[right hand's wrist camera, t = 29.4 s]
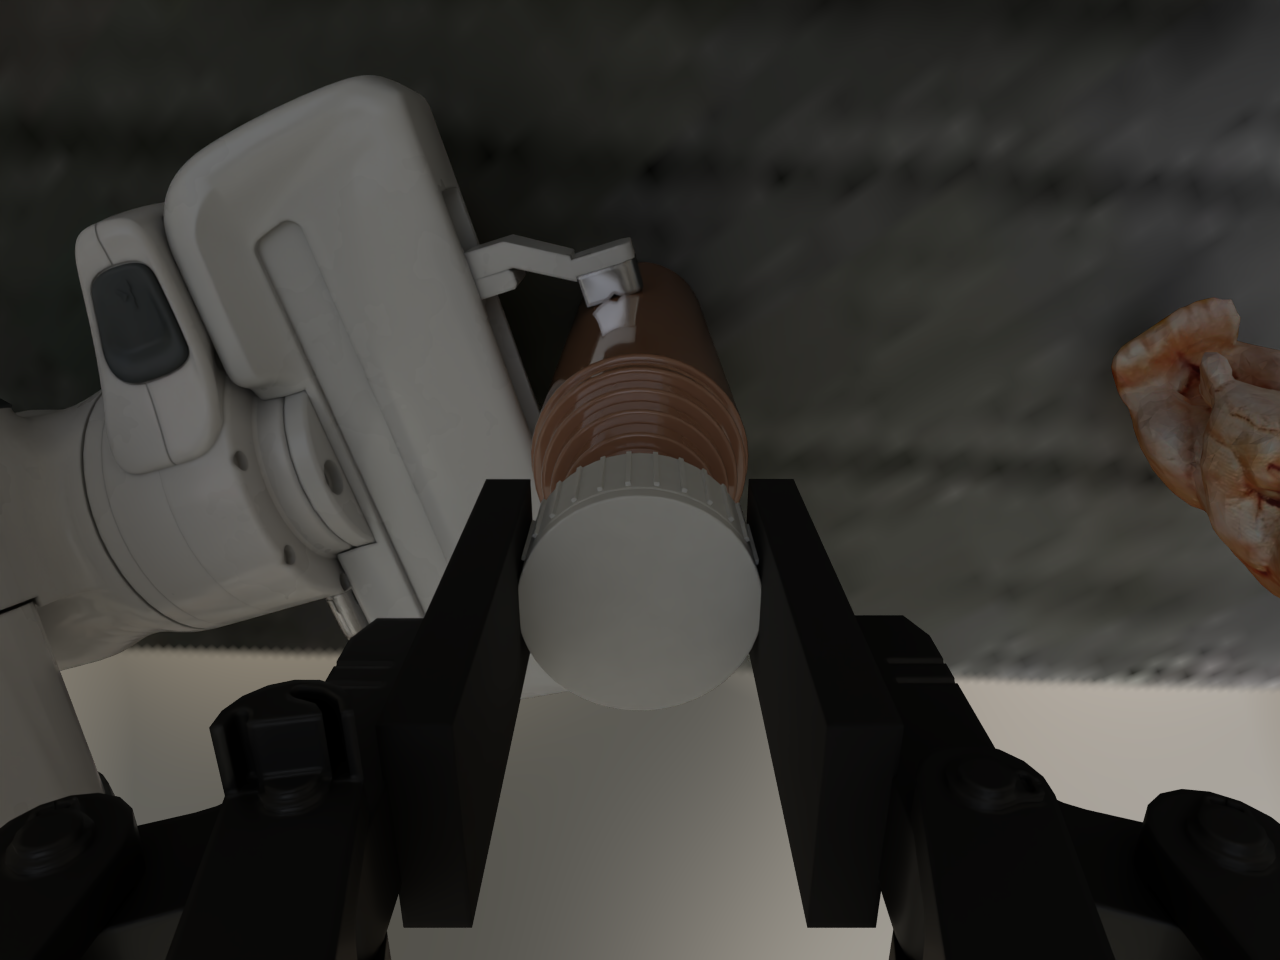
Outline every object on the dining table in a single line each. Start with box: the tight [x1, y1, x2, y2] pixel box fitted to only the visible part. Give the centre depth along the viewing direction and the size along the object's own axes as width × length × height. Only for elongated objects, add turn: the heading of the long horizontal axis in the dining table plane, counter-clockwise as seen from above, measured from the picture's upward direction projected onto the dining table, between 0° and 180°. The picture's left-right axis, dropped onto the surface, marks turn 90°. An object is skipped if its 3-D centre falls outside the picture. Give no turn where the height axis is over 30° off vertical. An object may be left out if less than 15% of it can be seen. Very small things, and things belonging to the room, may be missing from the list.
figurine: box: [1111, 297, 1280, 598], centre depth 27 cm, size 6×8×15 cm
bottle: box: [531, 262, 748, 503], centre depth 23 cm, size 5×5×20 cm
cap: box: [518, 451, 761, 711], centre depth 14 cm, size 4×4×2 cm
